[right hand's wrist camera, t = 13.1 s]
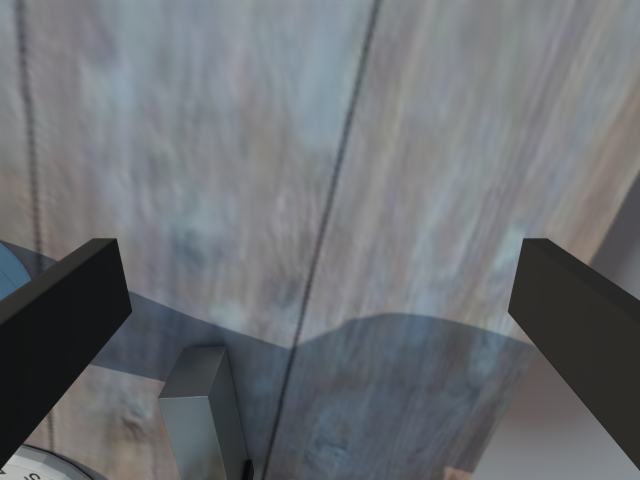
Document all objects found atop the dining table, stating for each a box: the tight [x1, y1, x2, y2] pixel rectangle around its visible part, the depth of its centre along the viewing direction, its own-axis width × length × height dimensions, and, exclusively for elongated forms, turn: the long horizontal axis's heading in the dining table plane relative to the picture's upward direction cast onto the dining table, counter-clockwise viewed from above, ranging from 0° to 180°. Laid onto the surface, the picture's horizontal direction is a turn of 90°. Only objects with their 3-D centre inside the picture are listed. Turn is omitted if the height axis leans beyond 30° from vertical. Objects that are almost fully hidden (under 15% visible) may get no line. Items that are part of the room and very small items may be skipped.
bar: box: [158, 346, 248, 480], centre depth 50 cm, size 25×6×9 cm, turn 4°
